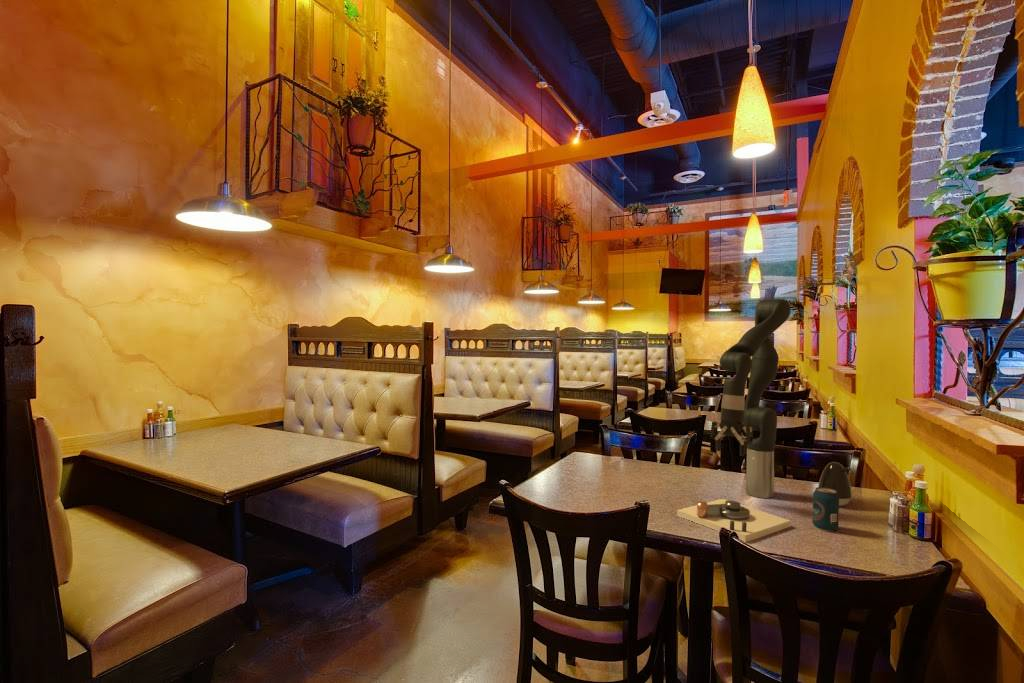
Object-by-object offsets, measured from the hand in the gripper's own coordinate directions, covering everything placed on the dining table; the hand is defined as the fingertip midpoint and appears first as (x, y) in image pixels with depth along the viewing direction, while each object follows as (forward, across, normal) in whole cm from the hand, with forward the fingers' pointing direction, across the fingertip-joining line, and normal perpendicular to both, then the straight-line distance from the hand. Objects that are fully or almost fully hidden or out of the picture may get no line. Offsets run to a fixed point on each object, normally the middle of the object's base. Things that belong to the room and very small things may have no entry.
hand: (729, 453), depth 176 cm
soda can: (+18, -30, -4) cm, 35 cm away
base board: (+19, -9, +15) cm, 26 cm away
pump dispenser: (+16, -24, -33) cm, 43 cm away
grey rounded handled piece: (+17, -8, +18) cm, 26 cm away
